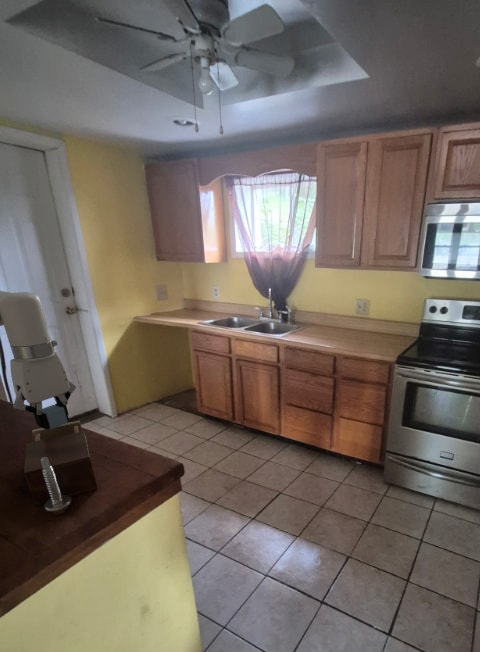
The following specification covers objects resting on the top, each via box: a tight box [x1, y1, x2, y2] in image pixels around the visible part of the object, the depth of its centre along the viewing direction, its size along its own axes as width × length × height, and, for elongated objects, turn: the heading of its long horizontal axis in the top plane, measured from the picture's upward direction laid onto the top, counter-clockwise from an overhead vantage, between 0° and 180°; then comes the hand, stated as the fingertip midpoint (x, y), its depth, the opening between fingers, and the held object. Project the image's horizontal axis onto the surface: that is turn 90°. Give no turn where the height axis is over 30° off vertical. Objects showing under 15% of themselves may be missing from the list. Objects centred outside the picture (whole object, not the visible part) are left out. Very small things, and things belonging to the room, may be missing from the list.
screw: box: [41, 457, 73, 516], centre depth 74 cm, size 13×5×5 cm
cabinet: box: [23, 430, 99, 508], centre depth 84 cm, size 14×12×9 cm
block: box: [42, 404, 69, 429], centre depth 89 cm, size 4×4×4 cm
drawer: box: [31, 420, 83, 442], centre depth 93 cm, size 17×10×7 cm, turn 32°
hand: (54, 423), depth 89 cm, fingers closed on block, 4 cm apart
